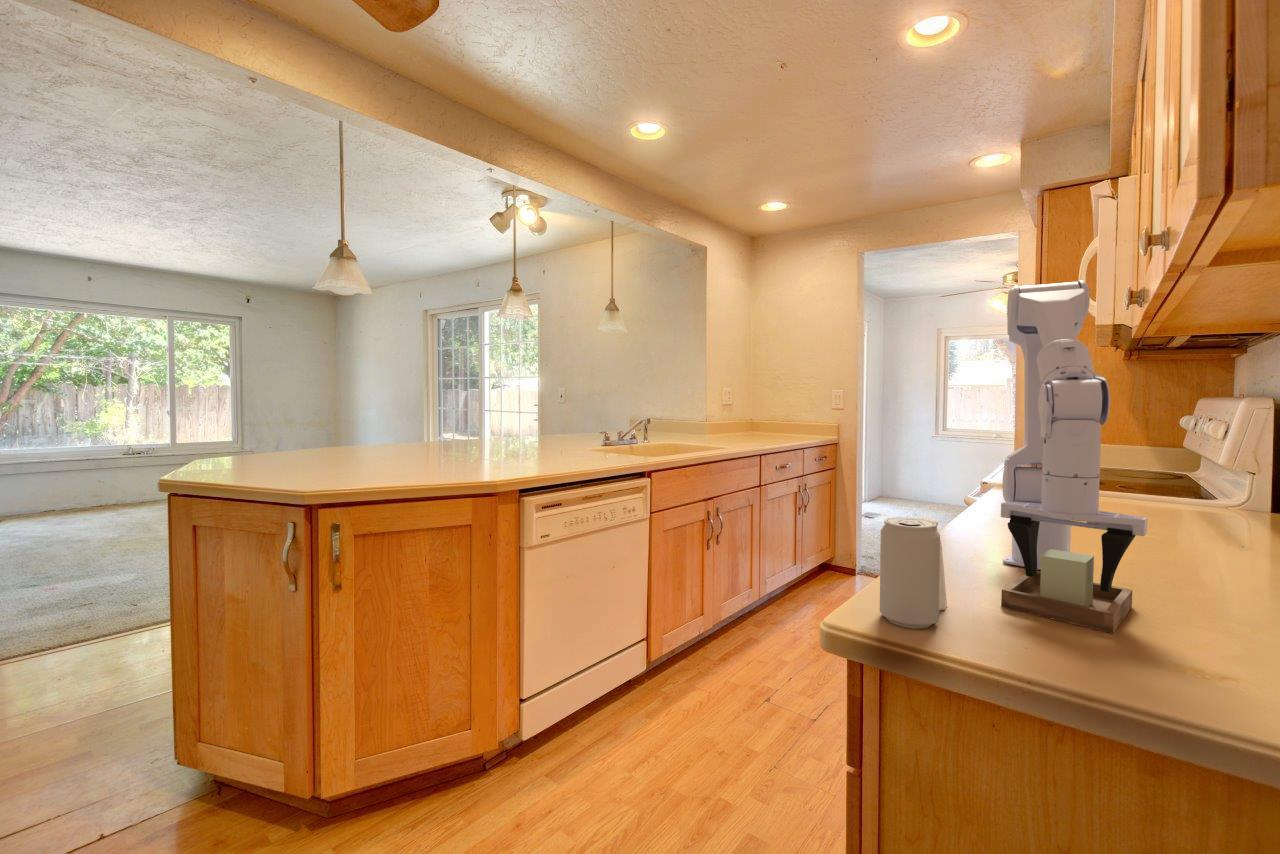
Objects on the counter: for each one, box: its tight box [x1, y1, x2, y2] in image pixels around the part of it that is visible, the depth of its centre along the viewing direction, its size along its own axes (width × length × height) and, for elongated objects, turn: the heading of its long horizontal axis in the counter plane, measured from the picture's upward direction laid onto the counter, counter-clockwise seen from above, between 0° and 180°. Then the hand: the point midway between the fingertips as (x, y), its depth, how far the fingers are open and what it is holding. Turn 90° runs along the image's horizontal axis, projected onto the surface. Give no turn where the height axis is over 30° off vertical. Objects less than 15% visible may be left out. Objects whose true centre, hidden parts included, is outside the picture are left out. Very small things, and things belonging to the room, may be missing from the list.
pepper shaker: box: [917, 517, 948, 611], centre depth 72 cm, size 5×5×11 cm
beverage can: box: [879, 516, 941, 630], centre depth 67 cm, size 6×6×12 cm
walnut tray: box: [1000, 571, 1133, 634], centre depth 71 cm, size 12×11×2 cm
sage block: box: [1040, 549, 1095, 607], centre depth 71 cm, size 4×4×6 cm
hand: (1067, 581), depth 71 cm, fingers open, 7 cm apart
